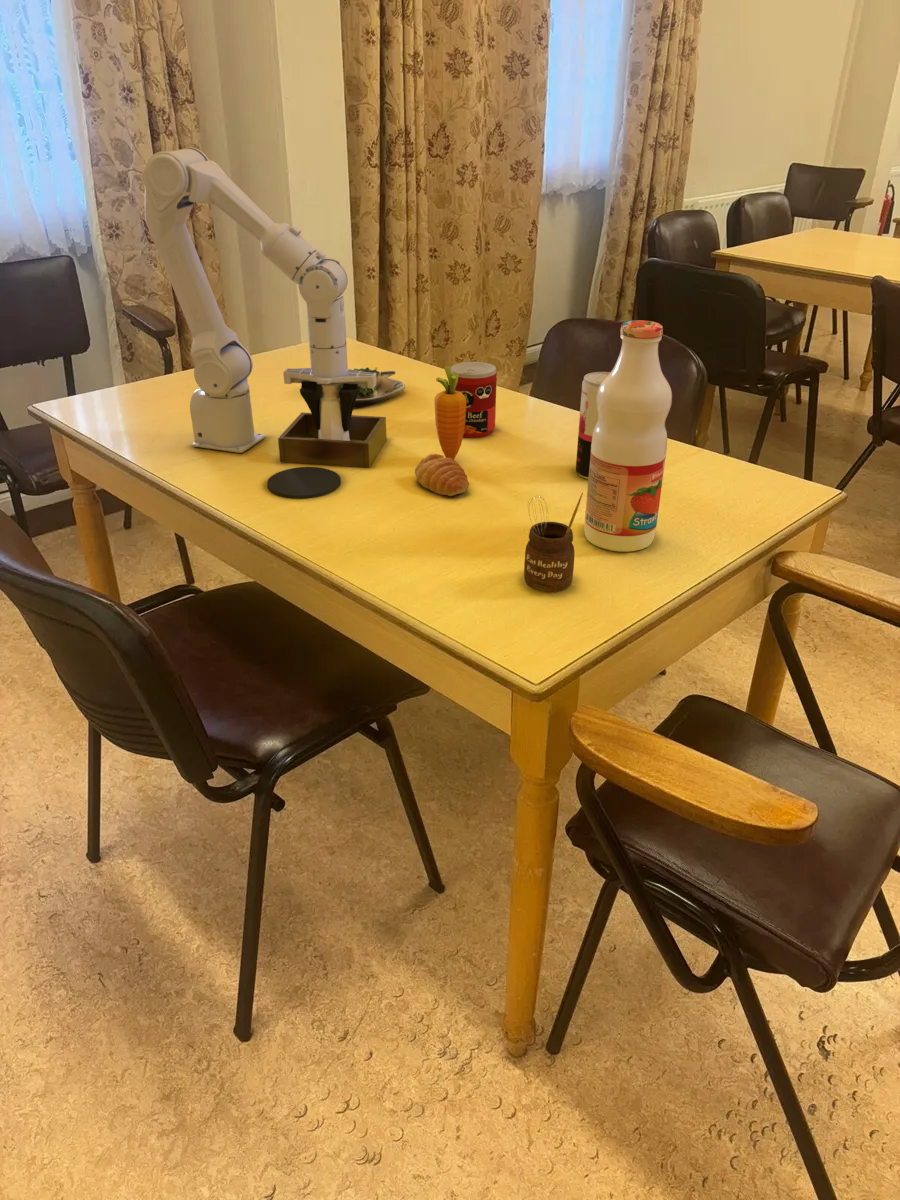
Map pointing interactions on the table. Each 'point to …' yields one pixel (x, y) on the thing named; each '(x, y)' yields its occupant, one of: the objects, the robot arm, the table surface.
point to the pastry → (441, 475)
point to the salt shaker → (331, 414)
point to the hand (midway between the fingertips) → (333, 428)
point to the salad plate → (378, 388)
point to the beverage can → (588, 420)
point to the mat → (304, 482)
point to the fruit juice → (629, 444)
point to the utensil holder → (549, 554)
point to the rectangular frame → (333, 442)
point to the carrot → (450, 415)
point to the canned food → (477, 396)
